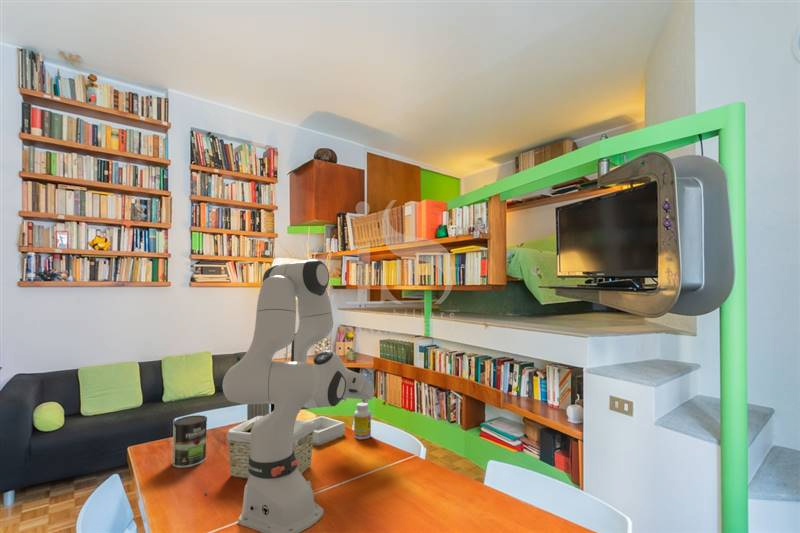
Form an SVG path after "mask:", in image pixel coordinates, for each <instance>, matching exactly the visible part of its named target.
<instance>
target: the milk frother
mask: <svg viewBox="0 0 800 533" xmlns="http://www.w3.org/2000/svg"><path fill="white" fill-rule="evenodd" d="M246 405H247V408H246V410H247V411H246V412H247V415H246V416H247V417H246V418H247V420H246V421H248V420H250V419H253V418H255V417H257V416H265V415H267V414H269V413H271V412H272V411H274V404H271V403H265V404H246ZM246 433H251V429H249V430H247V431H246Z"/></svg>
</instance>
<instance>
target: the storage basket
mask: <svg viewBox="0 0 800 533" xmlns="http://www.w3.org/2000/svg"><path fill="white" fill-rule="evenodd" d="M262 417H263V416H257V417H255V418H253V419H250V420H248V421H247V420H246V421H244V422H242V423H240V424H238V425H235V426H234V427H232V428H230V429H228V430H227V435H226V440H227V441H228V457H229V460H228V462H229V463H228V464H229V471H230V477H235V478H241V479H248V478H249V474H250V473H249V471H248V461H249V456H250V451H251V433H247V430H249V429H252V427H253V425H254V423H255V422H256V421H257V420H259V419H260V418H262ZM314 430H315V425H314V422H312V421H311V422H309V421H308V420H300V419H296V421H295V424H294V432H293V450H294V453H295V456H296V460H298V459H299V461H297V463H298V464H297V468H298V470H299V471H300V473H301V474H302V475H303V473H304V471H307V470H308V469H309V468H310V466H311V464H312V454H313V444H312V443H313V441H312V440H313V433H314Z"/></svg>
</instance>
